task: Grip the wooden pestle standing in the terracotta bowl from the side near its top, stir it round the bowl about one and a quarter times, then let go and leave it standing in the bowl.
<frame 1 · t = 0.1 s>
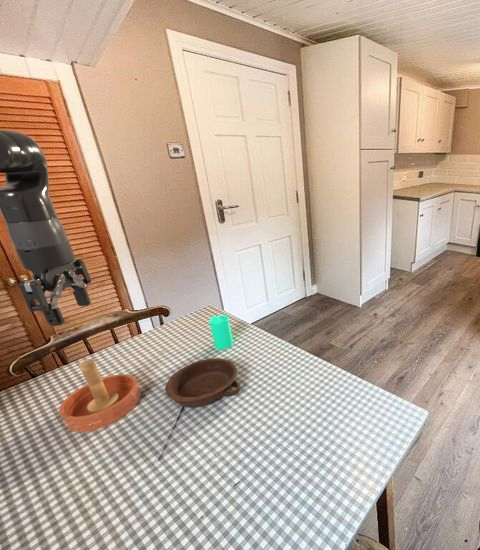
hand: (72, 314, 65), 31 cm above the table, tool pointing down, fingers open, 8 cm apart
wooden pestle: (105, 407, 80), point 1 cm above the table, touching bowl
dish: (205, 391, 87), on the table
candle: (224, 344, 108), on the table
bowl: (106, 409, 80), on the table
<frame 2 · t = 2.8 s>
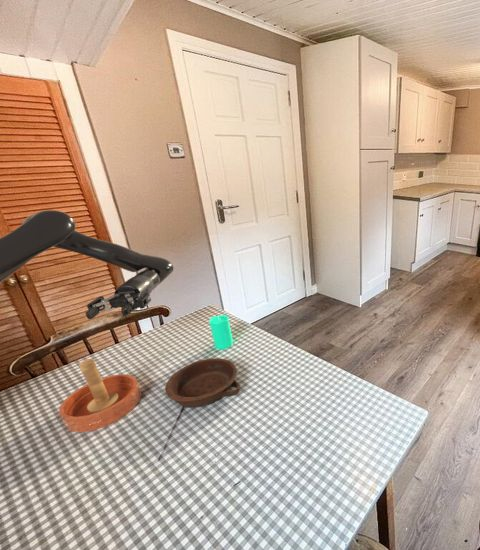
hand: (106, 314, 83), 22 cm above the table, tool horizontal, fingers open, 8 cm apart
nothing on the table moved.
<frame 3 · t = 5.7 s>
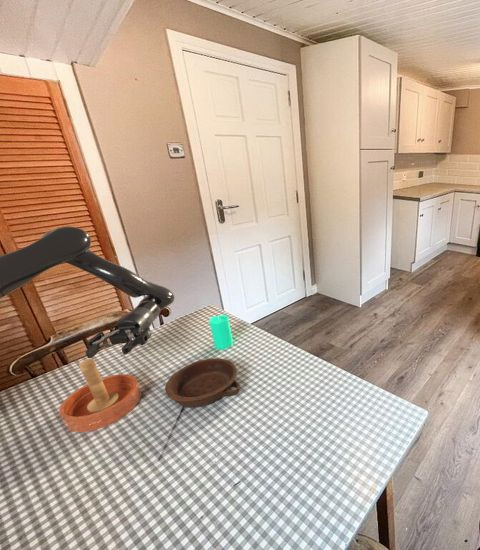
hand: (106, 353, 82), 13 cm above the table, tool horizontal, fingers open, 8 cm apart
nothing on the table moved.
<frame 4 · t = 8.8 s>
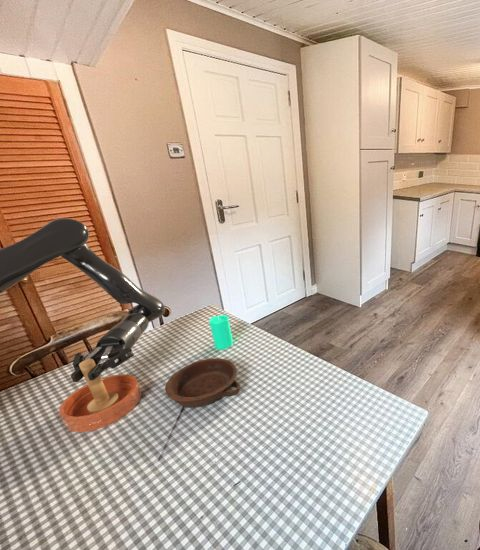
hand: (82, 378, 73), 13 cm above the table, tool horizontal, fingers closed on wooden pestle, 3 cm apart
wooden pestle: (105, 406, 80), point 1 cm above the table, touching bowl, gripper
everything else where it was.
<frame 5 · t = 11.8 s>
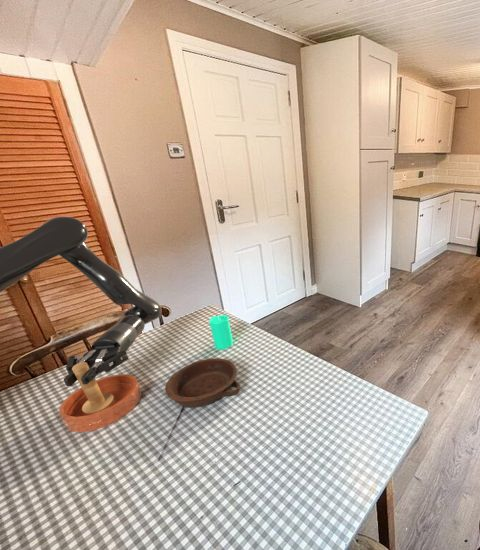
hand: (75, 382, 72), 13 cm above the table, tool horizontal, fingers closed on wooden pestle, 3 cm apart
wooden pestle: (100, 407, 80), point 1 cm above the table, tilted 5°, touching gripper
everything else where it was.
when the fingers open (13 cm above the table, at t = 14.8 s): wooden pestle stays where it is, resting on bowl.
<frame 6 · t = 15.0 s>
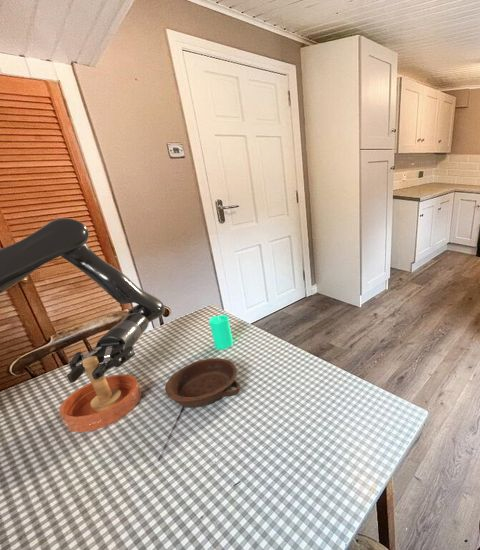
hand: (82, 377, 73), 13 cm above the table, tool horizontal, fingers open, 4 cm apart
wooden pestle: (108, 403, 81), point 1 cm above the table, touching bowl
everything else where it was.
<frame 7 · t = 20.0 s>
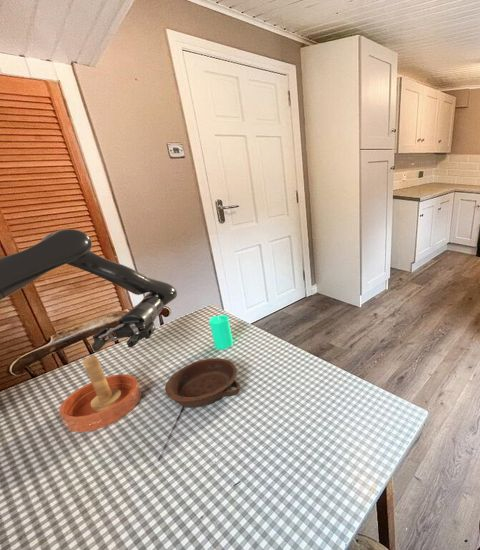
hand: (112, 346, 85), 13 cm above the table, tool horizontal, fingers open, 8 cm apart
nothing on the table moved.
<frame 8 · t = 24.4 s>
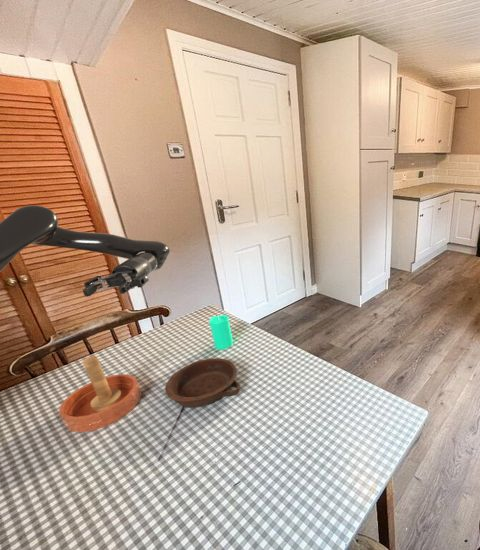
hand: (103, 292, 83), 28 cm above the table, tool horizontal, fingers open, 8 cm apart
nothing on the table moved.
at the end: wooden pestle inside the target area in the bowl (1.2 cm from its centre), point 0.8 cm above the bowl's base; wooden pestle tilted 0°; the gripper is holding nothing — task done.
